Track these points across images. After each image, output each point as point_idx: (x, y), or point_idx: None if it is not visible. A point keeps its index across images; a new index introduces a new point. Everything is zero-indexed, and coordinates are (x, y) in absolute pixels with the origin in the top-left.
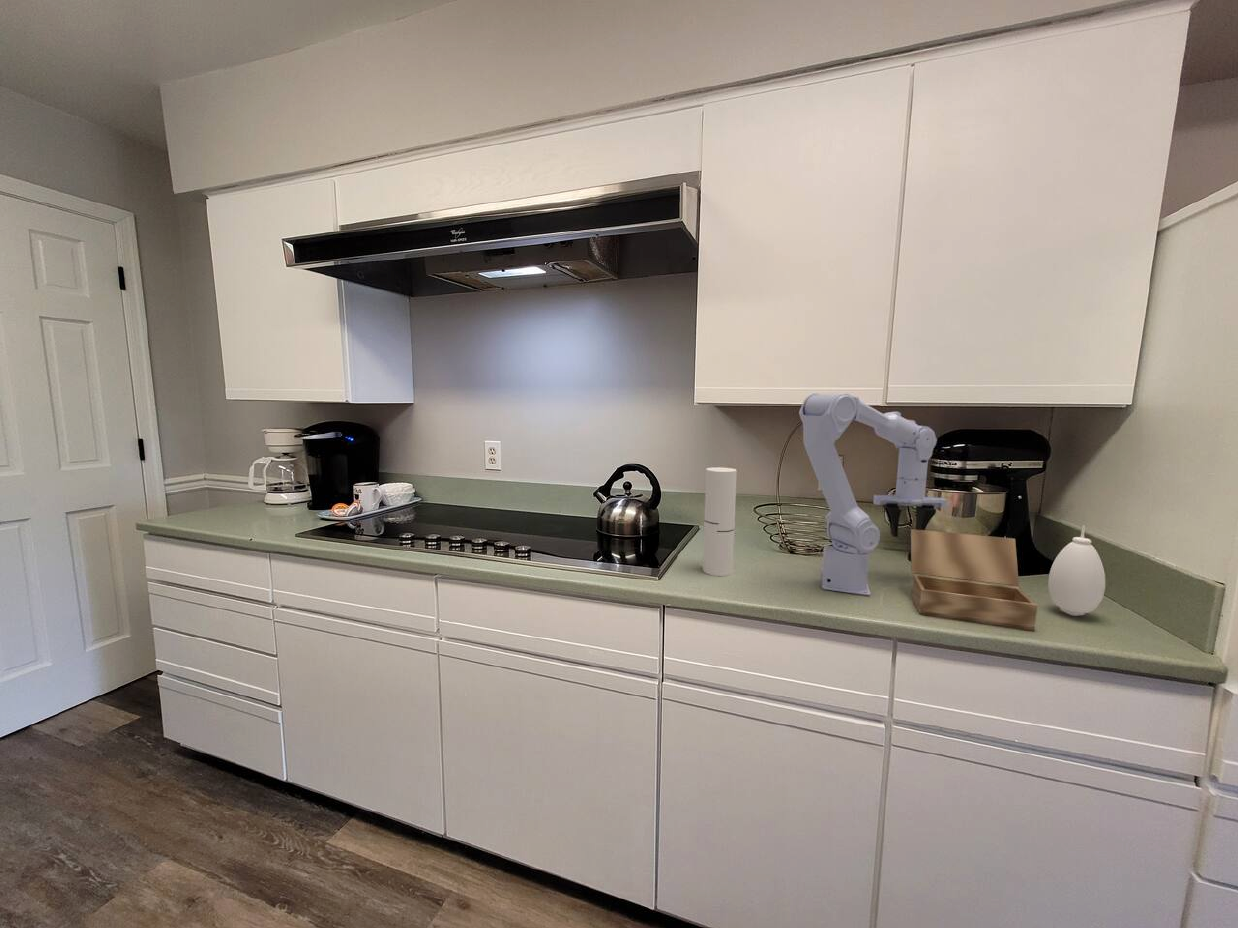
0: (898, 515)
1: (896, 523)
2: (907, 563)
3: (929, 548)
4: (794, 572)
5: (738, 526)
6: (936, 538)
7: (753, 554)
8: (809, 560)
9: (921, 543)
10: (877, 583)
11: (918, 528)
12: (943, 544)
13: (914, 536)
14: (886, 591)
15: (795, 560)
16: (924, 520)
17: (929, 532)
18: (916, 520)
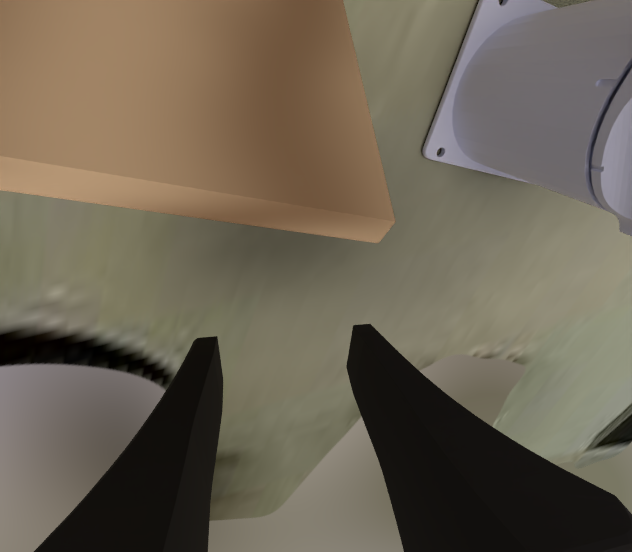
0: (472, 468)
1: (418, 393)
2: None
3: (205, 40)
4: (588, 215)
5: None
6: (87, 86)
7: (597, 326)
8: (482, 324)
9: (280, 85)
10: None
11: (210, 411)
12: (15, 23)
13: (352, 147)
14: (382, 73)
15: (520, 313)
16: (161, 474)
17: (169, 165)
18: (209, 504)
